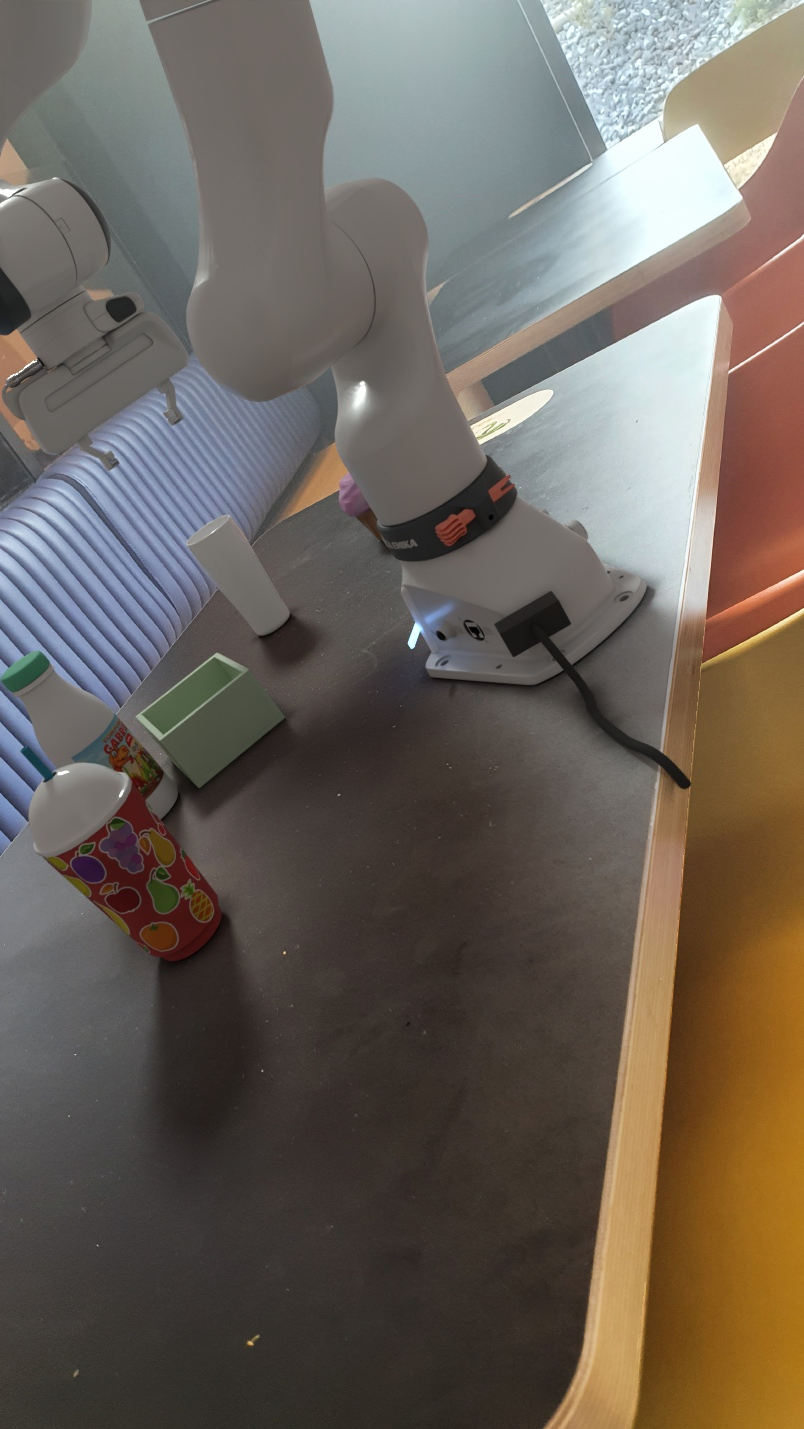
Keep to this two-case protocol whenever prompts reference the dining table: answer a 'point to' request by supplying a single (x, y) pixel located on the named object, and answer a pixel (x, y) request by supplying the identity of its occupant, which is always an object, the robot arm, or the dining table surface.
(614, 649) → the dining table surface
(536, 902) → the dining table surface
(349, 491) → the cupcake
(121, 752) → the milk bottle
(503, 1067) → the dining table surface
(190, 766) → the tub
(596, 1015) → the dining table surface
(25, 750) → the smoothie
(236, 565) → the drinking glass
